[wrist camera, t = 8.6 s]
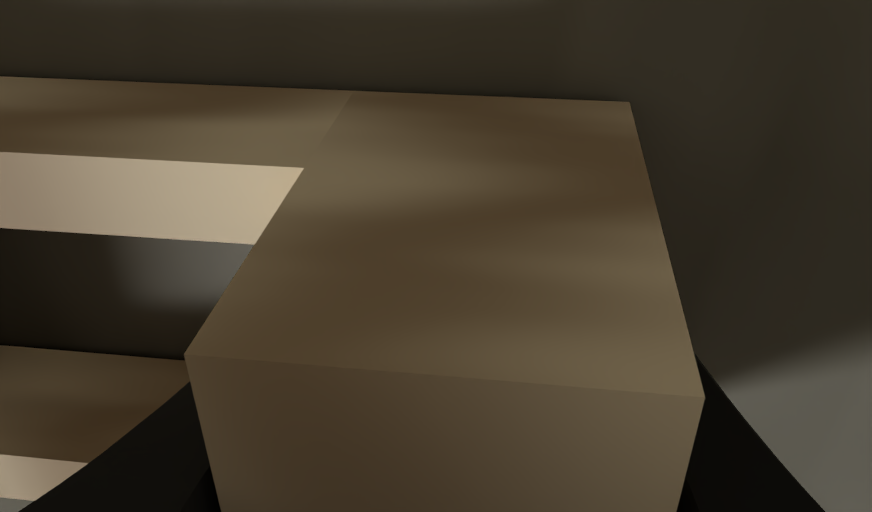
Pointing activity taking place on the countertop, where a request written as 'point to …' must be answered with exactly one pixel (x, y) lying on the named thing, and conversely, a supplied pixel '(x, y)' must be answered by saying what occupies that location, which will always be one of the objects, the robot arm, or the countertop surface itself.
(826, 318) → the countertop surface
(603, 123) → the tan boxy piece
